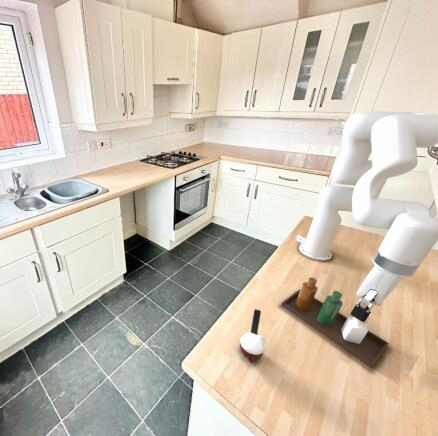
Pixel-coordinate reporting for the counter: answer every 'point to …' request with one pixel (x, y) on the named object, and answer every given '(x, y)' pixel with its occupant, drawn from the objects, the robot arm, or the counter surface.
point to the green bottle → (330, 309)
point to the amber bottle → (306, 294)
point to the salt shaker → (354, 330)
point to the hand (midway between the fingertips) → (365, 309)
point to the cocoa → (253, 340)
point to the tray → (339, 332)
